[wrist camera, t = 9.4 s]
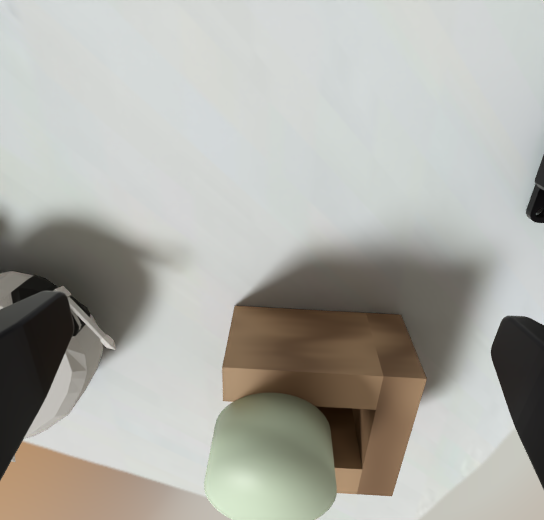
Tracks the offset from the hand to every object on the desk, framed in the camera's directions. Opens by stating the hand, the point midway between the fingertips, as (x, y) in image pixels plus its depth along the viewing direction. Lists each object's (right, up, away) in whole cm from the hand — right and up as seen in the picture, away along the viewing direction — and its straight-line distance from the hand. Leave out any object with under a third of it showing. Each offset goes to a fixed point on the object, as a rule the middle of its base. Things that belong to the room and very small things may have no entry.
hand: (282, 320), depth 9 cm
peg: (0, -6, +15) cm, 17 cm away
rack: (+2, -6, +17) cm, 18 cm away
